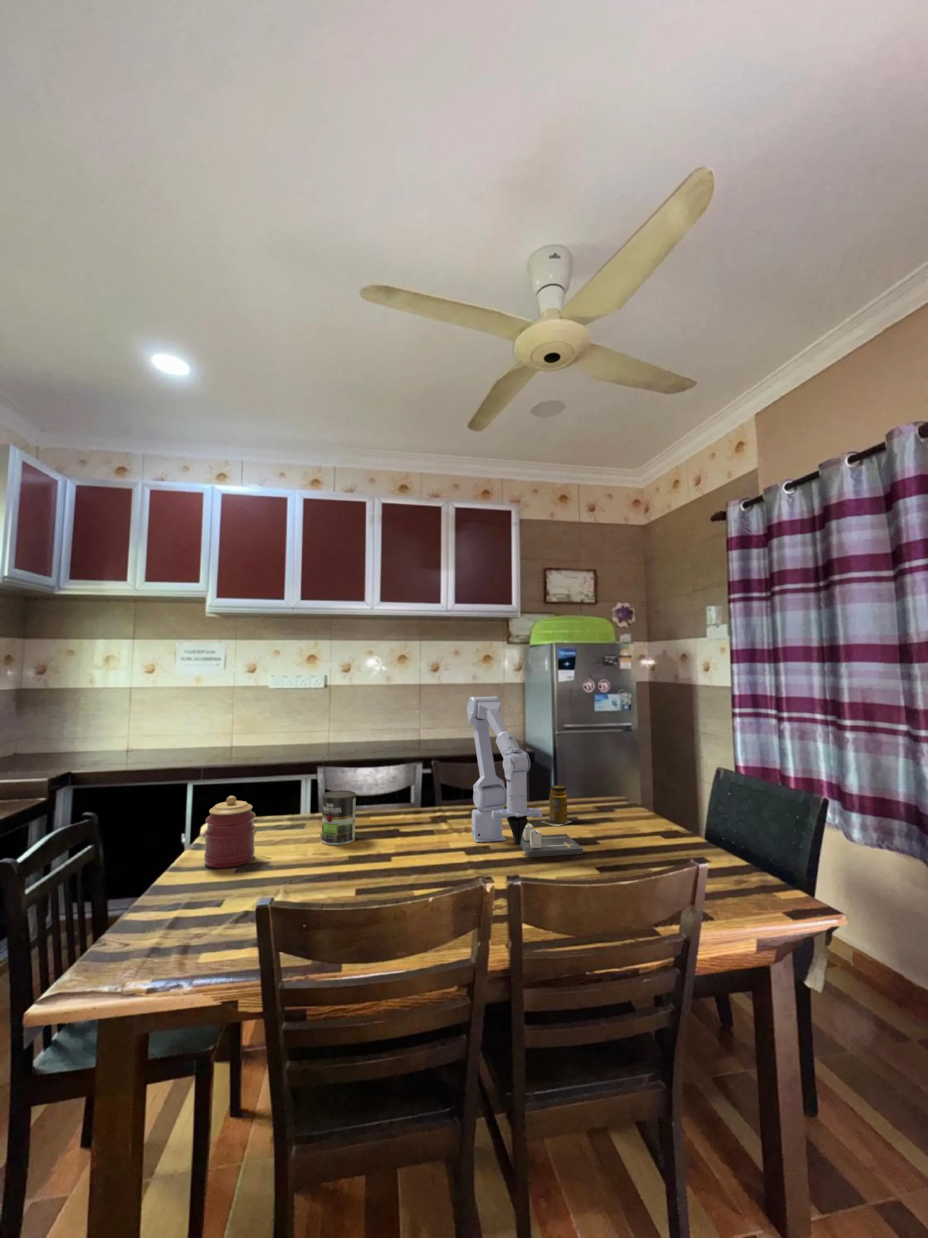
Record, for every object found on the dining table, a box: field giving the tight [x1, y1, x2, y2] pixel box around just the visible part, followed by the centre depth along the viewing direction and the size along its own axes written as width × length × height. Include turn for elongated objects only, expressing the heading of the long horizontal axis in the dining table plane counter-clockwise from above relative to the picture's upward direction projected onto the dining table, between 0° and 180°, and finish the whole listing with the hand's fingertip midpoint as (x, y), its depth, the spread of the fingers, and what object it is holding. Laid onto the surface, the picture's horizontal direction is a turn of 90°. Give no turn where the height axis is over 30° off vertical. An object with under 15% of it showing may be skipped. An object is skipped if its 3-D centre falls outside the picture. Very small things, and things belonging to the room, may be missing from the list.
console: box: [518, 833, 584, 858], centre depth 165 cm, size 16×14×2 cm
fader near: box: [530, 829, 542, 848], centre depth 161 cm, size 2×4×4 cm
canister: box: [203, 795, 256, 869], centre depth 155 cm, size 13×13×18 cm
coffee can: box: [321, 790, 357, 846], centre depth 173 cm, size 10×10×14 cm
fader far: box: [522, 822, 534, 841], centre depth 168 cm, size 2×4×4 cm
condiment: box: [540, 784, 573, 827], centre depth 192 cm, size 7×8×12 cm
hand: (517, 843), depth 160 cm, fingers closed
